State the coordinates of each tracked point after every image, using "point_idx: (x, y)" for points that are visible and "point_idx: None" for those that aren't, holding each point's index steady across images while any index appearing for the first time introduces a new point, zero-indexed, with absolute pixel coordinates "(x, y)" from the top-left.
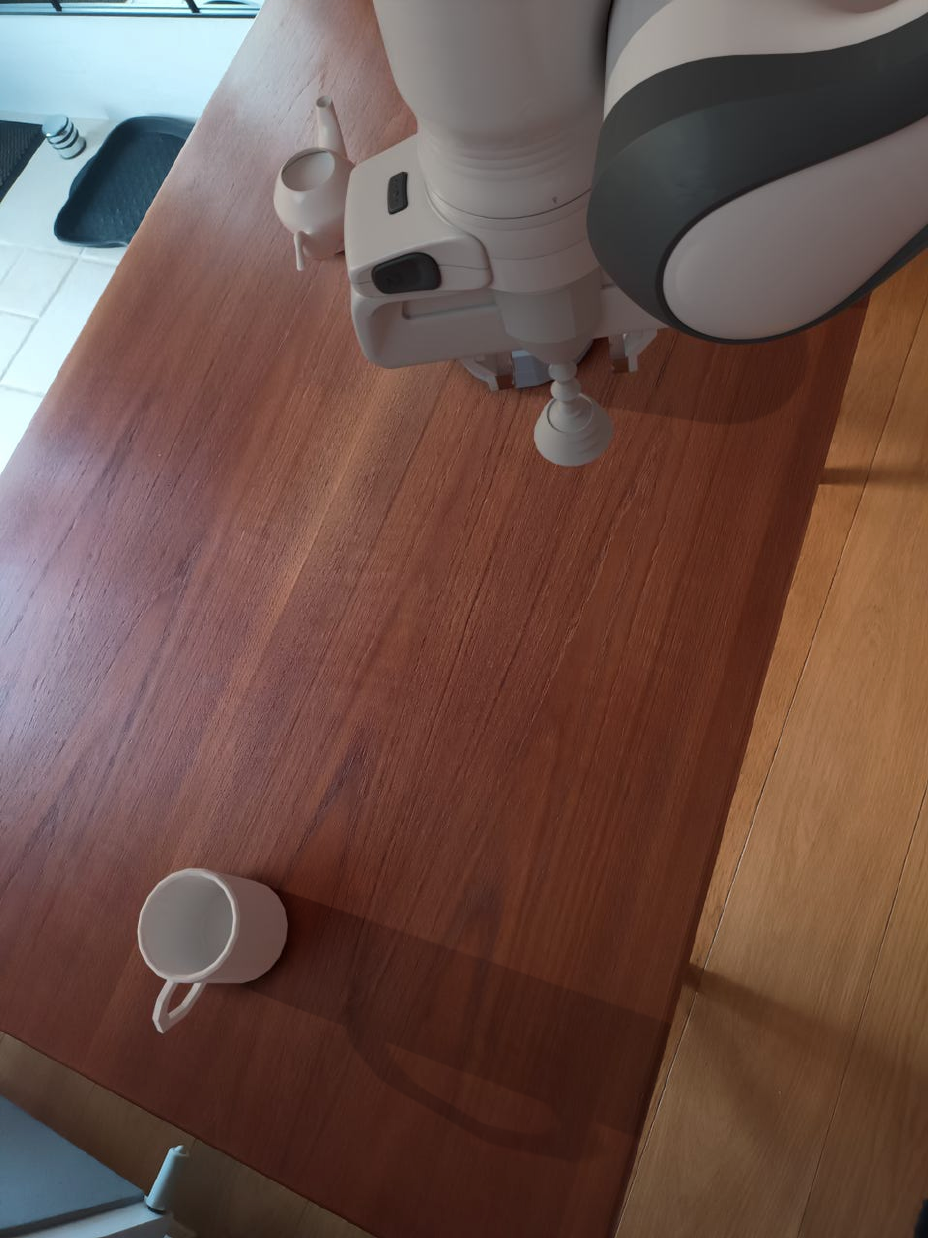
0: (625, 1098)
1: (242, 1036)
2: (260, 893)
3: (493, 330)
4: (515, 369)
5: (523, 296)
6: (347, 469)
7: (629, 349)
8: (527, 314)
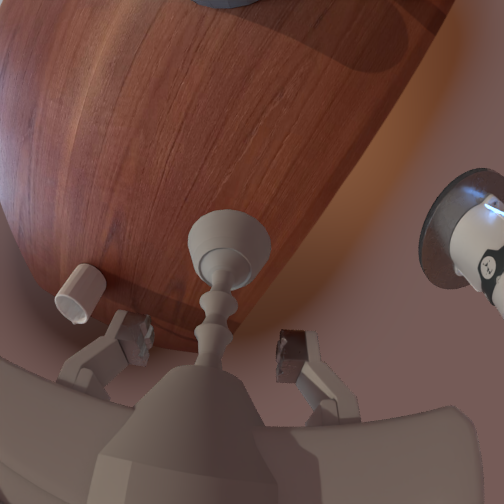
0: None
1: (101, 304)
2: (91, 283)
3: None
4: (213, 2)
5: None
6: (100, 58)
7: (302, 391)
8: None
